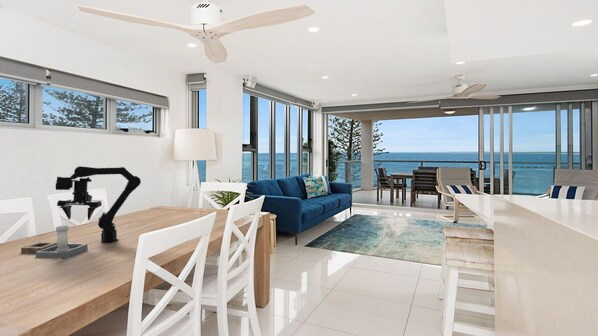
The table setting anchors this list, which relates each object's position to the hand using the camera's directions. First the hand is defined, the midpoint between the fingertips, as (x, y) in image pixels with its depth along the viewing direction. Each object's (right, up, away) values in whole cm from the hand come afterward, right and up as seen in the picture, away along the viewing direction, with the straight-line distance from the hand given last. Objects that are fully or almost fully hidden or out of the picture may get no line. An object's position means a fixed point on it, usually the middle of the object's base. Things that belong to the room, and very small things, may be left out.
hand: (79, 219), depth 166 cm
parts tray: (+2, -14, -15) cm, 20 cm away
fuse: (+2, -13, -15) cm, 20 cm away
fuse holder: (-11, -14, -11) cm, 21 cm away
